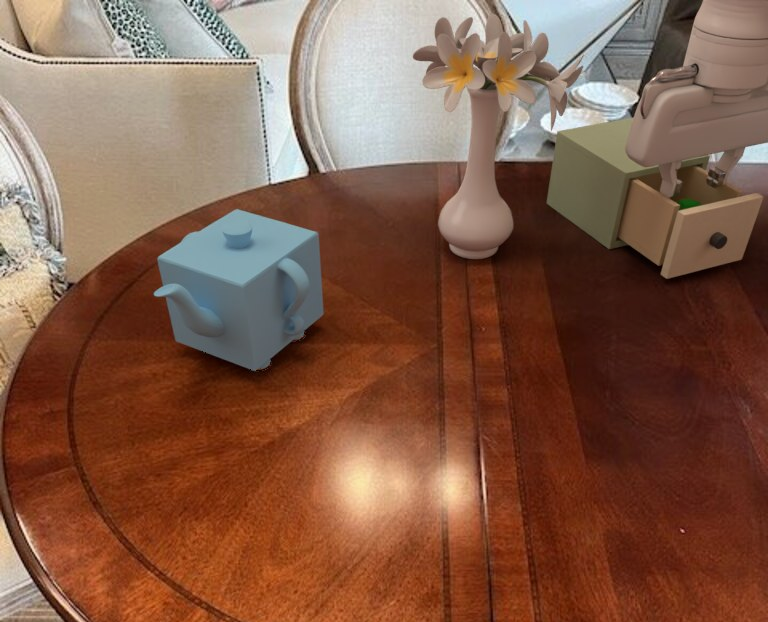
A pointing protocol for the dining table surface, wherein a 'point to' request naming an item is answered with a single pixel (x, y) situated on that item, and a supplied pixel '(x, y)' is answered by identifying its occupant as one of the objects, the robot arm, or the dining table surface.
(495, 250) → the flower vase
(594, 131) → the cabinet
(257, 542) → the dining table surface
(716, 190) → the drawer
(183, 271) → the teapot
